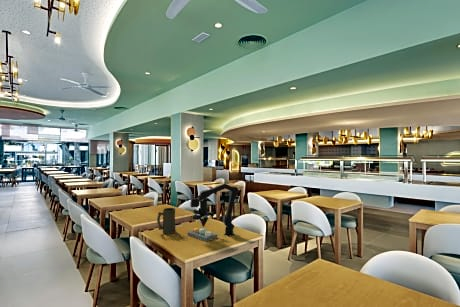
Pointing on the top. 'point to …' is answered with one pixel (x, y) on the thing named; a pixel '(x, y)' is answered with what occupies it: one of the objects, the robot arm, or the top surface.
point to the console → (202, 236)
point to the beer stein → (167, 221)
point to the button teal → (201, 231)
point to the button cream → (207, 234)
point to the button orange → (196, 230)
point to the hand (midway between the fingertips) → (203, 226)
